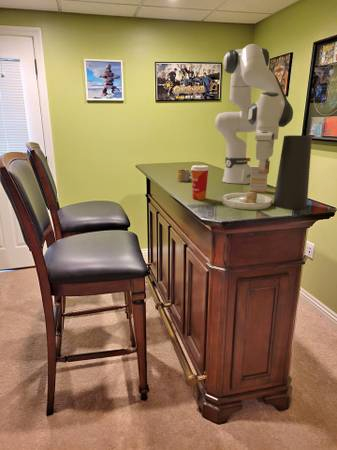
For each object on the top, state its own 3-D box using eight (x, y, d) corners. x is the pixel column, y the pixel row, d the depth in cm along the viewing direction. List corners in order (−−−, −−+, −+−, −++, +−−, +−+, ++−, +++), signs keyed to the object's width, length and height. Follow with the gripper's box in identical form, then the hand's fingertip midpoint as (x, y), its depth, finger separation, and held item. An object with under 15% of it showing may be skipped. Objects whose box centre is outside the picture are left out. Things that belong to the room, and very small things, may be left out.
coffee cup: (188, 196, 160) (189, 165, 155) (206, 196, 160) (207, 164, 156) (191, 200, 152) (192, 167, 147) (209, 200, 153) (210, 167, 148)
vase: (288, 210, 136) (297, 137, 127) (266, 203, 148) (273, 135, 139) (314, 207, 141) (323, 136, 132) (290, 200, 153) (298, 134, 144)
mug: (177, 182, 196) (177, 170, 194) (176, 180, 203) (176, 169, 201) (198, 182, 197) (198, 170, 195) (196, 180, 204) (196, 169, 202)
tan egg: (244, 203, 143) (245, 192, 142) (254, 203, 144) (255, 191, 142) (247, 206, 139) (248, 194, 138) (257, 205, 140) (258, 194, 138)
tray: (244, 196, 161) (245, 191, 161) (281, 204, 145) (281, 199, 144) (212, 202, 150) (212, 196, 149) (248, 212, 134) (248, 206, 133)
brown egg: (259, 172, 143) (260, 160, 142) (269, 172, 142) (270, 160, 140) (257, 173, 140) (258, 161, 138) (267, 174, 138) (268, 161, 137)
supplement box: (266, 191, 172) (268, 165, 168) (265, 193, 168) (268, 166, 164) (249, 190, 175) (251, 164, 171) (248, 192, 171) (250, 166, 167)
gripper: (263, 133, 146) (260, 165, 150) (254, 135, 129) (251, 171, 133) (278, 133, 144) (275, 166, 148) (270, 136, 126) (267, 172, 130)
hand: (263, 169), depth 140 cm, fingers closed on brown egg, 4 cm apart
